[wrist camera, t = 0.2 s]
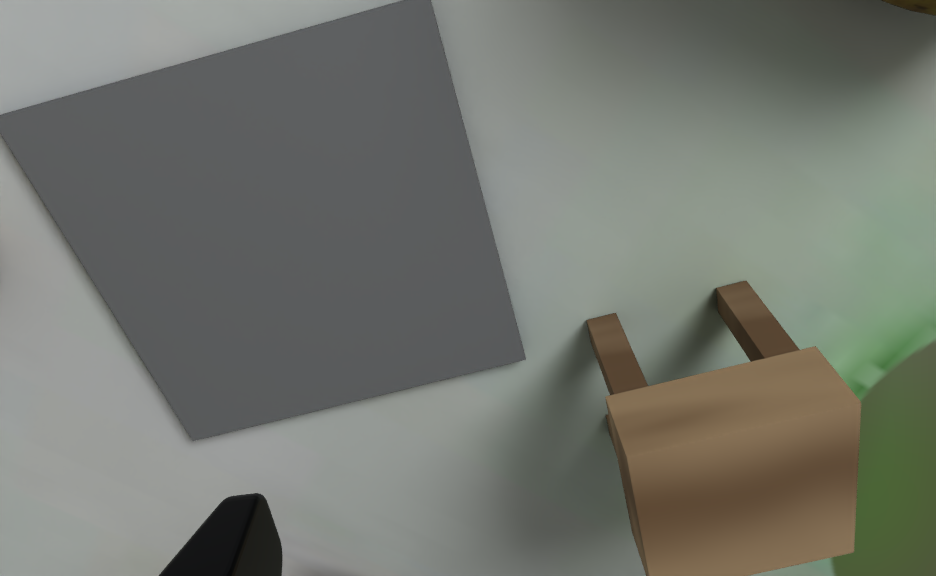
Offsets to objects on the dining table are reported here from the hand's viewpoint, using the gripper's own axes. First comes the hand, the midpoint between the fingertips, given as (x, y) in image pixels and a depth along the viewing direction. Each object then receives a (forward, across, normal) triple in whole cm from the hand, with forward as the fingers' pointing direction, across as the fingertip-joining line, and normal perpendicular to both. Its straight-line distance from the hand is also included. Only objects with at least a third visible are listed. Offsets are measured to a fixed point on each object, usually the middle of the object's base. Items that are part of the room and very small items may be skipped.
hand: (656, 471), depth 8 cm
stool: (+14, -5, +10) cm, 18 cm away
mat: (+14, +7, +4) cm, 16 cm away
